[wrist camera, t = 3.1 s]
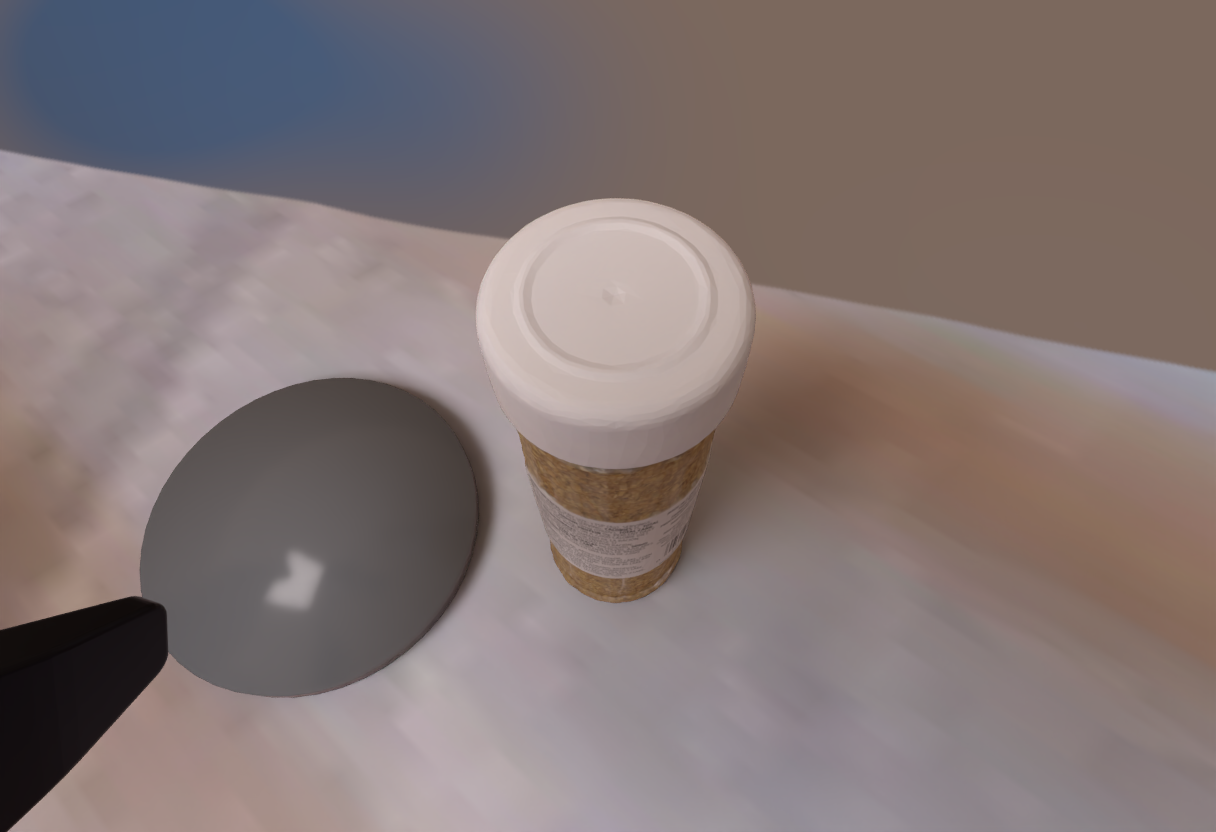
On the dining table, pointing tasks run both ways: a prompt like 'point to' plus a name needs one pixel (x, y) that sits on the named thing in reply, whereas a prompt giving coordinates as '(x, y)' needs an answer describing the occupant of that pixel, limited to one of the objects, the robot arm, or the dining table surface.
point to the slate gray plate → (311, 538)
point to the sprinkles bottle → (616, 377)
